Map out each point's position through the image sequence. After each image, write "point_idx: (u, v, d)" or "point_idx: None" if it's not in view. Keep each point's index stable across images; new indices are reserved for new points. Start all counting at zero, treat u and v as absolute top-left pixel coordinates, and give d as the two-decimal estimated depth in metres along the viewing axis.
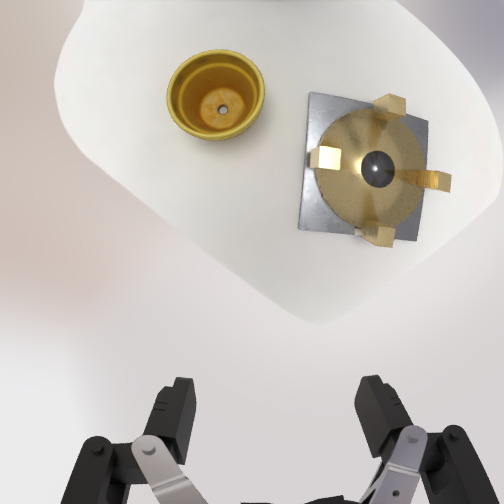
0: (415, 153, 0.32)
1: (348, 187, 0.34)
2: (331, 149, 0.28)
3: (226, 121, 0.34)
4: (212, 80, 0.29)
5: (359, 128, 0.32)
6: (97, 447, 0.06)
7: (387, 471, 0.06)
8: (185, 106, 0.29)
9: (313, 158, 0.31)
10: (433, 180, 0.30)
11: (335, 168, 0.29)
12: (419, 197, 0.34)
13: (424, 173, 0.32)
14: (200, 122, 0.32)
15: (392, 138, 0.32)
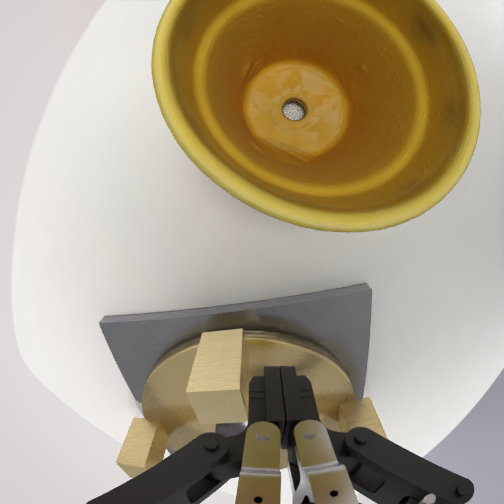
0: None
1: None
2: (239, 408, 0.11)
3: (266, 123, 0.14)
4: (364, 73, 0.11)
5: None
6: (211, 444, 0.07)
7: (308, 478, 0.06)
8: (277, 11, 0.08)
9: (217, 350, 0.14)
10: None
11: (199, 417, 0.11)
12: None
13: None
14: (247, 62, 0.11)
15: None
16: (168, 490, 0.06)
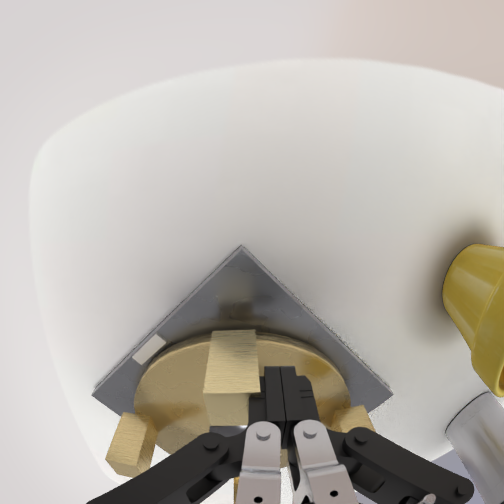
0: (284, 460, 0.20)
1: (194, 396, 0.17)
2: None
3: None
4: None
5: None
6: (211, 444, 0.07)
7: (308, 478, 0.06)
8: None
9: (231, 350, 0.13)
10: None
11: (211, 419, 0.11)
12: None
13: None
14: None
15: None
16: (168, 490, 0.06)
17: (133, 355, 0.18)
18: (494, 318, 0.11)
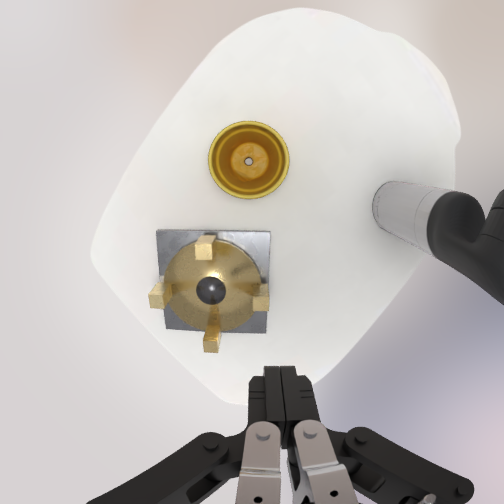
0: (248, 270, 0.45)
1: (190, 305, 0.47)
2: (155, 296, 0.41)
3: (238, 165, 0.42)
4: (272, 152, 0.39)
5: (191, 261, 0.45)
6: (211, 444, 0.07)
7: (309, 478, 0.06)
8: (243, 133, 0.36)
9: None
10: None
11: (161, 307, 0.42)
12: None
13: (253, 289, 0.45)
14: (233, 145, 0.40)
15: (222, 263, 0.45)
16: (168, 490, 0.06)
17: None
18: None
